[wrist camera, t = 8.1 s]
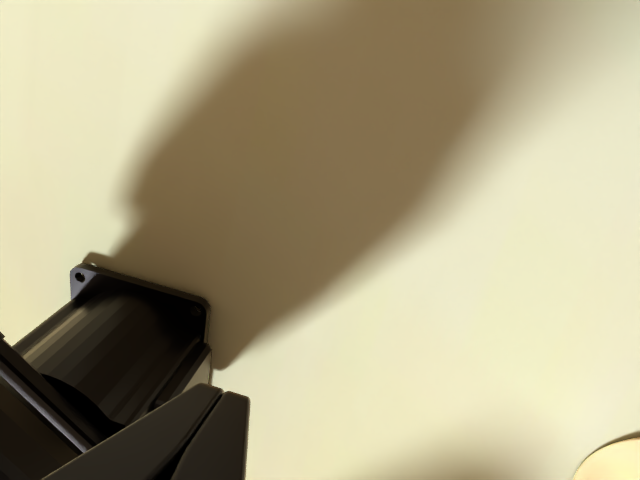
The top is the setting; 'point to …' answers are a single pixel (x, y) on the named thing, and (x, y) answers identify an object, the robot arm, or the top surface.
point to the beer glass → (613, 462)
